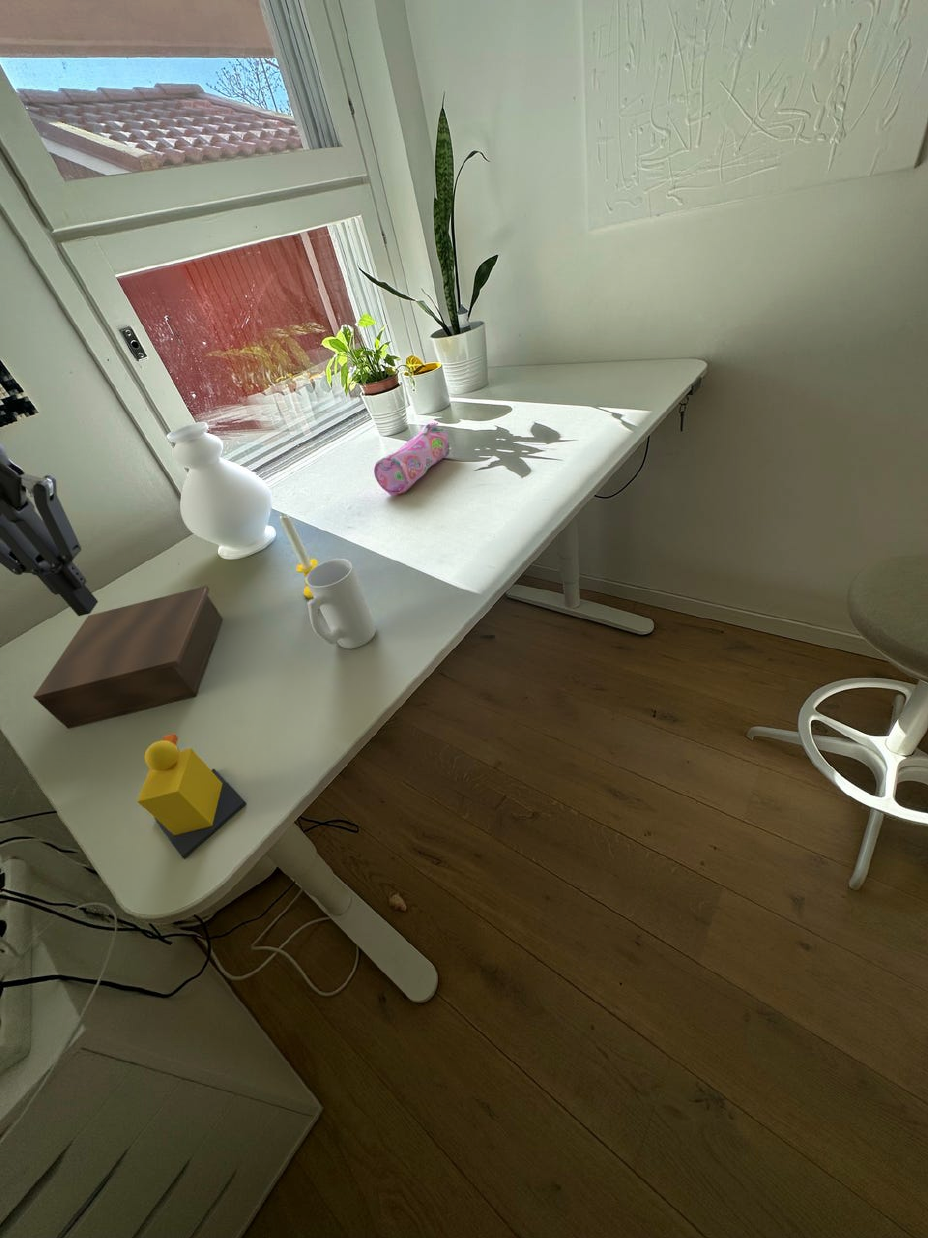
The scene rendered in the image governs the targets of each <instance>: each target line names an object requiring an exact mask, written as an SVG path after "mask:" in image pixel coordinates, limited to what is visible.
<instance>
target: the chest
mask: <svg viewBox="0 0 928 1238" xmlns="http://www.w3.org/2000/svg"><path fill="white" fill-rule="evenodd" d="M223 620H224V619H223V616H222V615H221V614H220V612H219V611H218V609H217V607H216V606H215V604H214V603H213V601H212V600H211V598H210V597H209V595H208V594H207V597H206V599H205V602H204V604H203V607H202V609H201V611H200V614H199V616H198V619H197V621H196V624H195V626H194V629H193V631H192V633H191V636H190V638H189V641H188V643H187V646H186V648H185V651H184V653H183V656H182V658H181V660H180V663H179V665H175V666H171V667H167V668H163V669H159V670H155V671H151V672H147V673H143V674H139V675H136V676H132V677H128V678H124V679H120V680H116V681H112V682H108V683H104V684H100V685H96V686H92V687H88V688H84V689H80V690H76V691H72V692H68V693H65V694H61V695H57V696H53V697H49V698H45V699H41V700H37V702H38V703H39V704H40V705H41V706H42V707H43V708H44V709H46V711H48V712H49V714H51V715H52V716H53V717H54V718H55V719H56V720H58V721H59V722H60V723H61V724H62V725H63V726H64V727H65V728H66V729H72V728H77V727H81V726H84V725H89V724H93V723H97V722H100V721H104V720H107V719H113V718H116V717H119V716H124V715H128V714H131V713H137V712H139V711H143V710H147V709H151V708H155V707H159V706H163V705H166V704H170V703H174V702H178V701H182V700H187V699H190V698H194V697H195V698H196V697H197V695H198V692H199V689H200V686H201V683H202V681H203V677H204V675H205V672H206V669H207V666H208V664H209V661H210V658H211V655H212V652H213V649H214V646H215V644H216V640H217V637H218V635H219V632H220V629H221V626H222V623H223Z"/></svg>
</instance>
